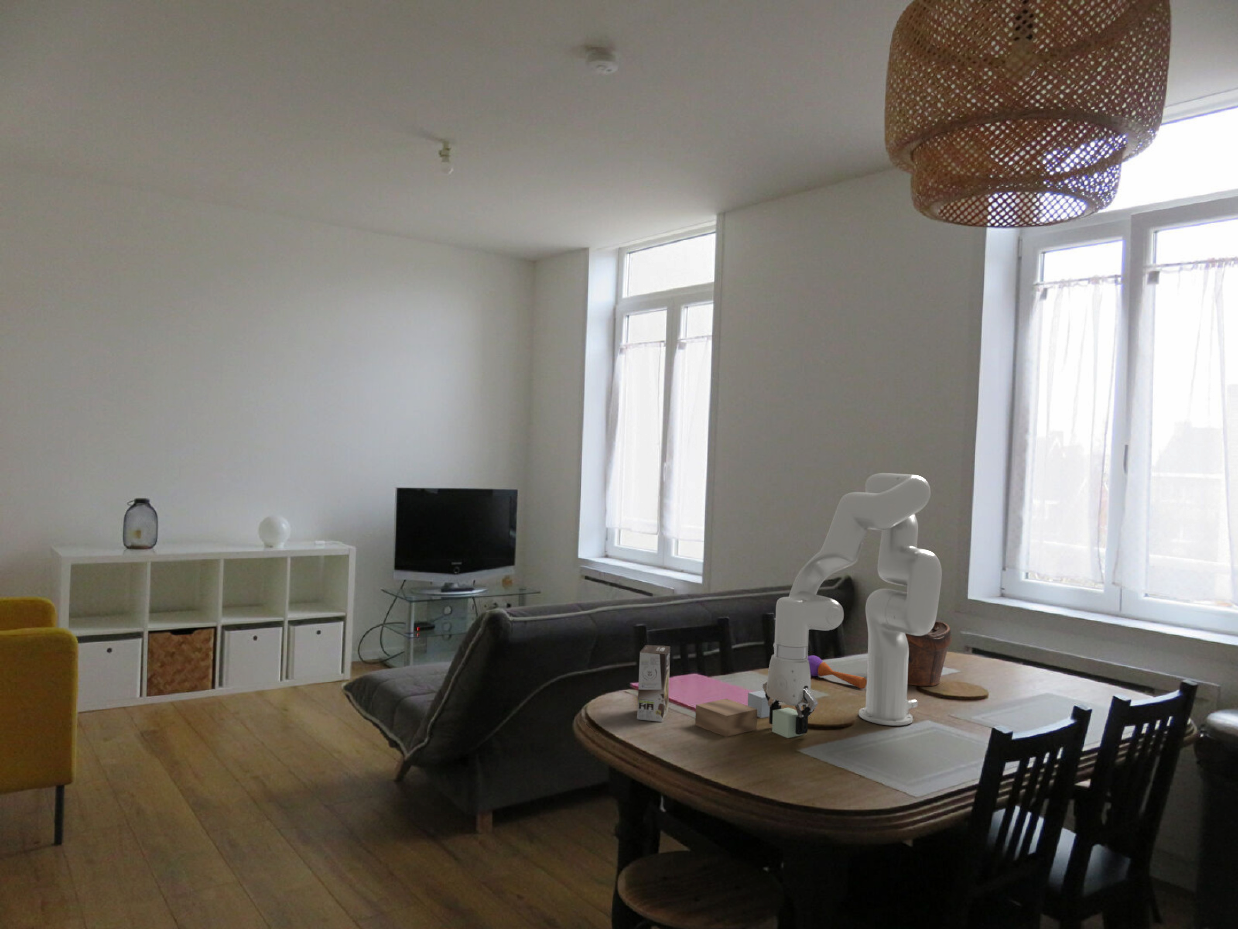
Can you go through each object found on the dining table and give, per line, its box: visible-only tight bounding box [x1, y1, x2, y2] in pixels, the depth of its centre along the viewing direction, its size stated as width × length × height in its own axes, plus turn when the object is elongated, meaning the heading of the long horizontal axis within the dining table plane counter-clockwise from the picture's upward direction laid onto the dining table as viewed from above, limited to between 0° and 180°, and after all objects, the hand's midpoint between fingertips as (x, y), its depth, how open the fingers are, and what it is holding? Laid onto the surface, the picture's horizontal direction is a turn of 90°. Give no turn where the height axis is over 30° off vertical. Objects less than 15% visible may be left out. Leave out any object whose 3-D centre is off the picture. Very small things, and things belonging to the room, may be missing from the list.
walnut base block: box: [694, 698, 758, 738], centre depth 206 cm, size 10×10×5 cm
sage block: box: [771, 707, 805, 739], centre depth 203 cm, size 5×5×5 cm
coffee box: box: [636, 644, 671, 723], centre depth 213 cm, size 9×6×16 cm
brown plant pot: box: [905, 620, 953, 687], centre depth 256 cm, size 18×20×18 cm
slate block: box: [747, 689, 770, 719], centre depth 218 cm, size 5×5×5 cm
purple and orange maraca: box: [807, 654, 867, 690], centre depth 253 cm, size 6×6×20 cm
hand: (787, 728), depth 203 cm, fingers open, 7 cm apart
